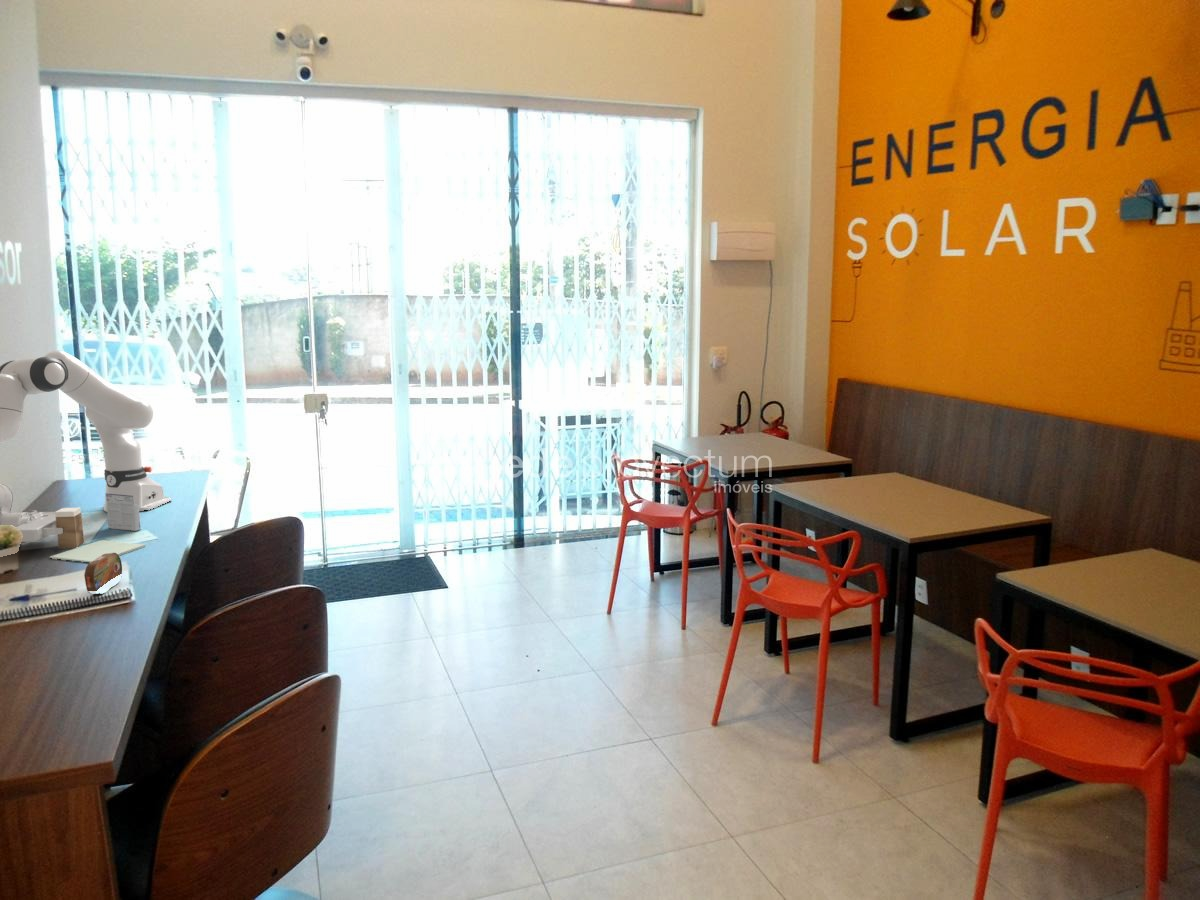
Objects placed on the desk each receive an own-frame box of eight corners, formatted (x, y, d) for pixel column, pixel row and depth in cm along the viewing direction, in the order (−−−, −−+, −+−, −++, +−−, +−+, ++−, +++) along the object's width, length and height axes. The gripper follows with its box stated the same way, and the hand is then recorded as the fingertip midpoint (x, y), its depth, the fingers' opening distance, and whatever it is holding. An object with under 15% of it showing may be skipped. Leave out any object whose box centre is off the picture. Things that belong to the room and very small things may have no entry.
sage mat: (101, 541, 268) (101, 540, 268) (145, 546, 263) (145, 544, 263) (49, 558, 251) (49, 556, 251) (95, 563, 246) (95, 561, 246)
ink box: (141, 530, 282) (138, 494, 280) (135, 531, 280) (132, 495, 278) (113, 526, 285) (110, 491, 283) (107, 528, 283) (104, 493, 281)
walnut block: (66, 543, 266) (62, 507, 264) (84, 543, 266) (80, 507, 264) (58, 548, 261) (55, 512, 259) (77, 548, 261) (73, 511, 260)
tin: (97, 599, 219) (94, 566, 217) (83, 599, 219) (80, 566, 217) (124, 579, 234) (121, 548, 232) (111, 579, 233) (109, 548, 232)
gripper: (-1, 526, 250) (53, 524, 252) (33, 508, 270) (83, 507, 272) (2, 548, 251) (55, 546, 253) (36, 529, 271) (85, 527, 273)
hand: (70, 526), depth 263 cm, fingers open, 8 cm apart
